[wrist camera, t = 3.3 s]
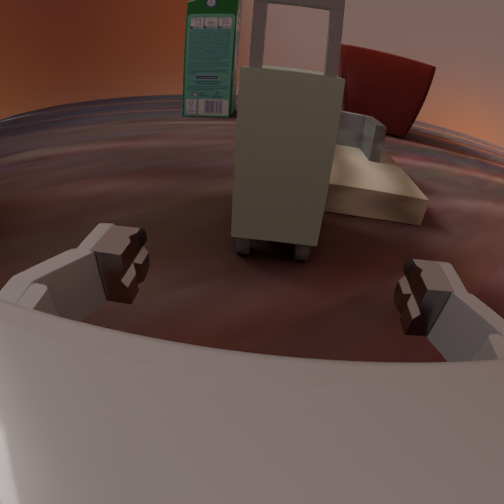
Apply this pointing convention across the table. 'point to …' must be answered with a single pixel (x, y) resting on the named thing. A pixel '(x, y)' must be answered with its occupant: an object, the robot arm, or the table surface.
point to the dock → (370, 176)
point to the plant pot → (384, 86)
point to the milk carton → (211, 57)
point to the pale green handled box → (285, 140)
